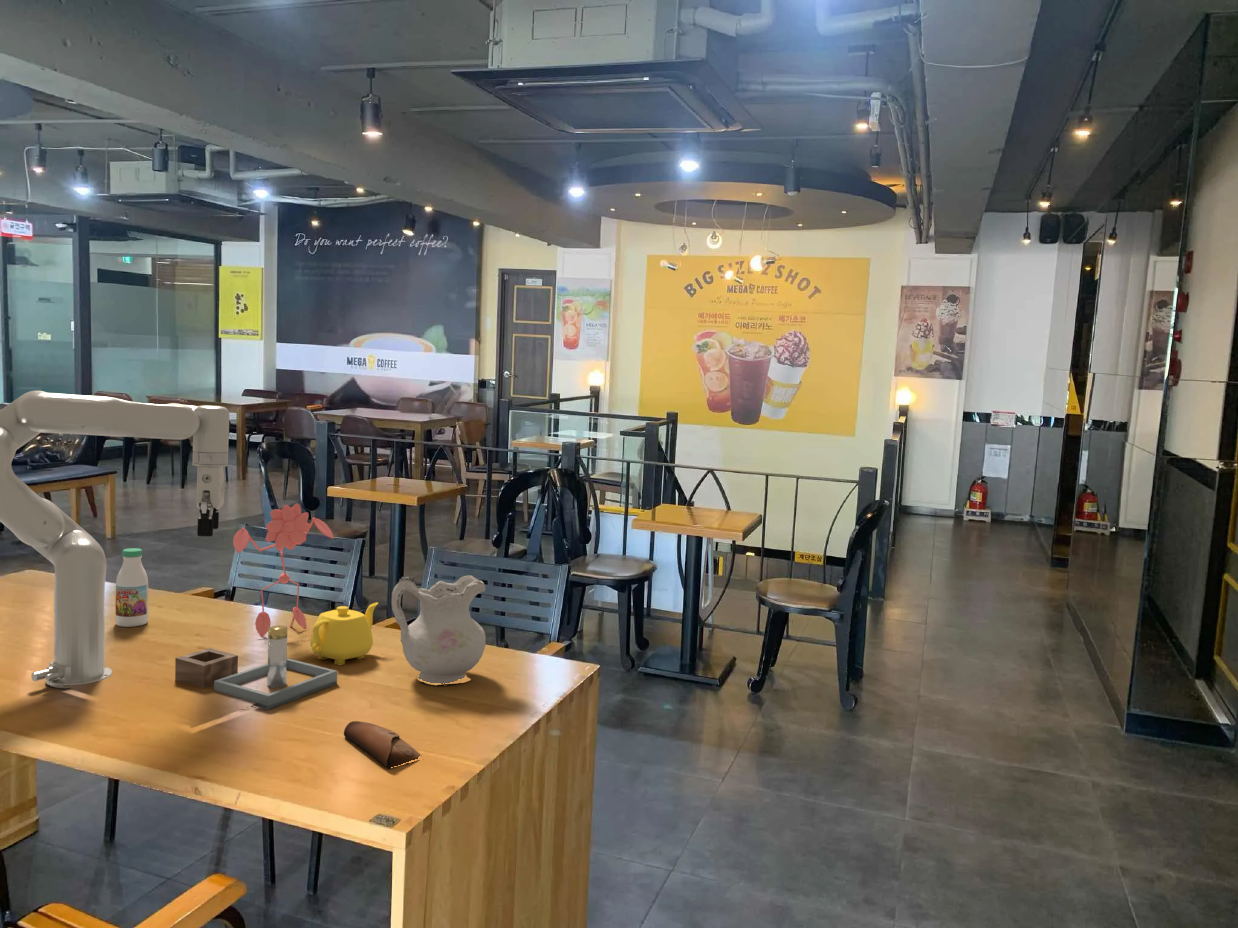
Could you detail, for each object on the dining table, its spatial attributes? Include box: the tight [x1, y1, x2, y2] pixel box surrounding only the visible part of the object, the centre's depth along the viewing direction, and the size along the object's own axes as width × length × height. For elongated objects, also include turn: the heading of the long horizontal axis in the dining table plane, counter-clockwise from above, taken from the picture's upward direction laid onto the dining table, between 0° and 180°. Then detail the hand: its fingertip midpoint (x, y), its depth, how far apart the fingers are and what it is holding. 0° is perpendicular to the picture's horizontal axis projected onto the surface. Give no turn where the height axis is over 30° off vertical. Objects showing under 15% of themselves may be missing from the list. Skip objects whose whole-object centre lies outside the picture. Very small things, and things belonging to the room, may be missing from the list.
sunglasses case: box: [343, 720, 421, 769], centre depth 179 cm, size 18×7×7 cm
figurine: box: [232, 503, 335, 645], centre depth 244 cm, size 15×26×35 cm, turn 135°
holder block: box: [174, 647, 239, 689], centre depth 208 cm, size 9×9×6 cm
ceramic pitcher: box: [391, 575, 487, 684], centre depth 219 cm, size 22×20×25 cm
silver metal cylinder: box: [266, 625, 288, 689], centre depth 207 cm, size 4×4×13 cm
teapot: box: [309, 601, 379, 665], centre depth 232 cm, size 14×20×13 cm
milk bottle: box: [115, 547, 149, 628], centre depth 248 cm, size 8×8×20 cm
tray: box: [213, 657, 338, 711], centre depth 207 cm, size 20×16×3 cm
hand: (208, 532), depth 219 cm, fingers open, 9 cm apart
